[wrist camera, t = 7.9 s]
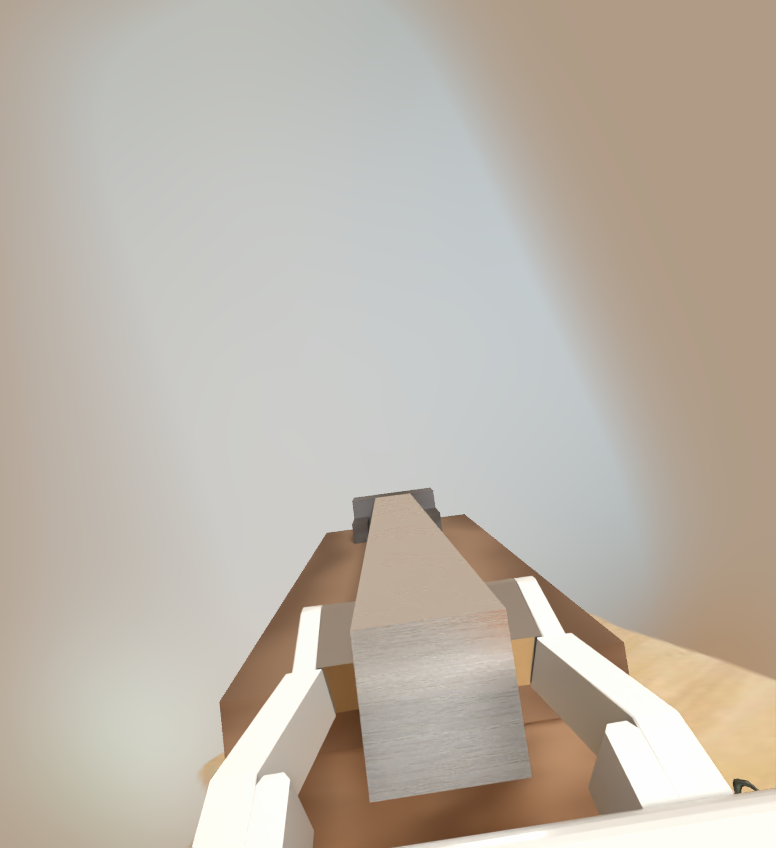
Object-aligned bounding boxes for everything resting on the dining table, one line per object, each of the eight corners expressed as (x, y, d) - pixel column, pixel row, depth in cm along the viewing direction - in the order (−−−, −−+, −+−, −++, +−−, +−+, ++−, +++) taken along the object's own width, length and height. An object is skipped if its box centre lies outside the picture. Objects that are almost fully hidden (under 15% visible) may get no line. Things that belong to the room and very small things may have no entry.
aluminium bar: (369, 802, 7) (349, 630, 7) (379, 533, 32) (375, 498, 32) (531, 777, 7) (506, 608, 7) (414, 528, 32) (410, 493, 32)
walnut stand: (317, 1693, 10) (209, 604, 12) (361, 827, 33) (323, 500, 35) (779, 1592, 10) (608, 548, 12) (505, 804, 33) (459, 482, 35)
